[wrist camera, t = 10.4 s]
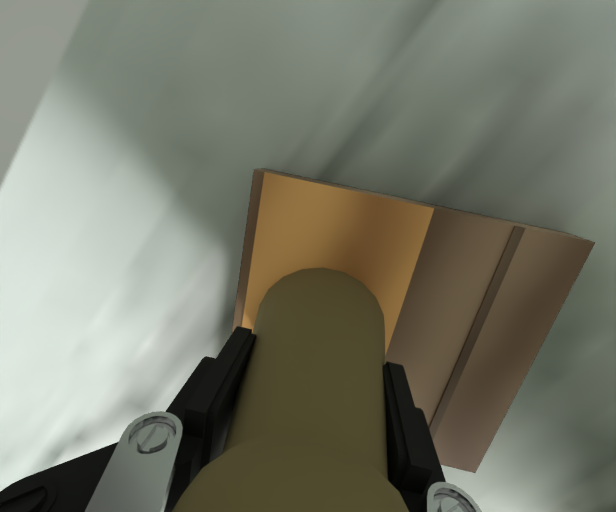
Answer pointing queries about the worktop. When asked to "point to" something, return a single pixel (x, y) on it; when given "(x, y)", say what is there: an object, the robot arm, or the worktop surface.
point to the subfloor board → (422, 291)
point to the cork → (307, 407)
